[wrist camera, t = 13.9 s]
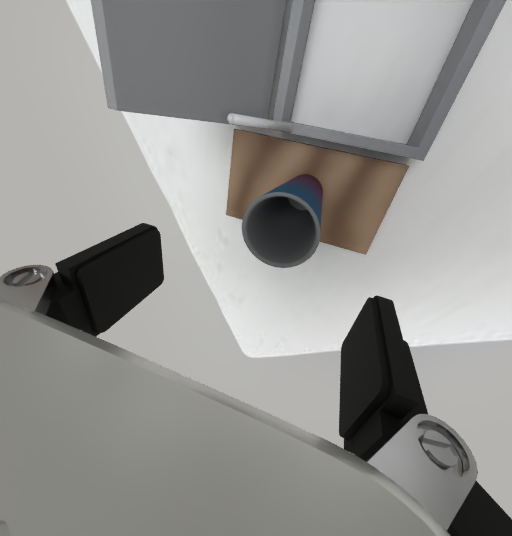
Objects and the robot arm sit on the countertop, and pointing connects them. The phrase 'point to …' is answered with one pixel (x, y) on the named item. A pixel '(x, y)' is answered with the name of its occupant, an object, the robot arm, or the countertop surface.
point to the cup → (285, 222)
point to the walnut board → (329, 175)
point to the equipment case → (434, 112)
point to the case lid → (189, 56)
